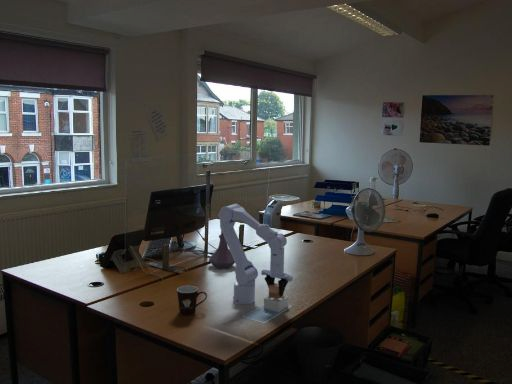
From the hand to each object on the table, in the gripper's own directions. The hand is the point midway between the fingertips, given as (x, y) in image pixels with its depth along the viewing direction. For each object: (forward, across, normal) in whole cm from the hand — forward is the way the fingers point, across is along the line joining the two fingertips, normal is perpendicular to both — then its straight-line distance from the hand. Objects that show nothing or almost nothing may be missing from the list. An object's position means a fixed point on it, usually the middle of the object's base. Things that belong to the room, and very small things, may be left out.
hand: (276, 294), depth 196 cm
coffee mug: (+7, -26, -25) cm, 37 cm away
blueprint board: (+7, 0, -6) cm, 9 cm away
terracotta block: (+1, 0, 0) cm, 1 cm away
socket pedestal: (+6, 0, 0) cm, 6 cm away
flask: (+7, -55, +33) cm, 65 cm away
